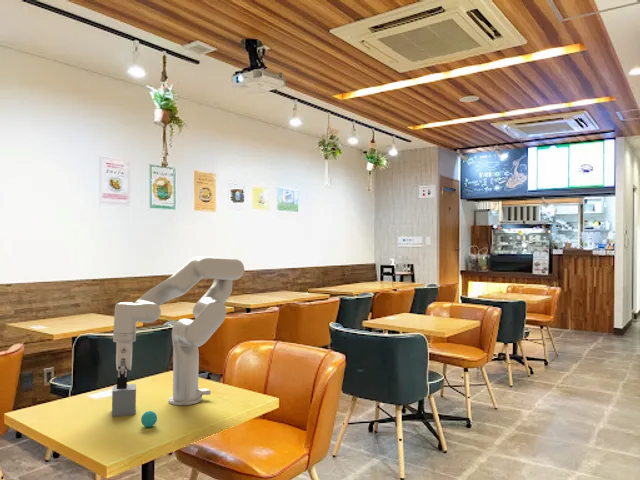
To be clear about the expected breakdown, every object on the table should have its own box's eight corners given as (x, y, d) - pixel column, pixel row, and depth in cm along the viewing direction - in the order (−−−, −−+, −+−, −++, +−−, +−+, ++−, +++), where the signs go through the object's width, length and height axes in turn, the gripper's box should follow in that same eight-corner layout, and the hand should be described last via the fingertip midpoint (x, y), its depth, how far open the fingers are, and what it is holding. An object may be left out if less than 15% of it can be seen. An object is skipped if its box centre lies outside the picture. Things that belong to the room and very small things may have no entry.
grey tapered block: (135, 407, 181) (135, 383, 181) (135, 414, 174) (135, 389, 174) (112, 409, 178) (113, 385, 179) (111, 416, 171) (112, 391, 171)
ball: (156, 423, 165) (156, 408, 165) (157, 428, 161) (157, 412, 161) (140, 424, 164) (141, 409, 164) (141, 430, 159) (141, 414, 159)
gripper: (135, 340, 170) (133, 390, 169) (135, 333, 186) (133, 378, 185) (112, 341, 167) (109, 392, 166) (114, 333, 183) (111, 379, 183)
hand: (122, 385), depth 176 cm, fingers open, 9 cm apart
